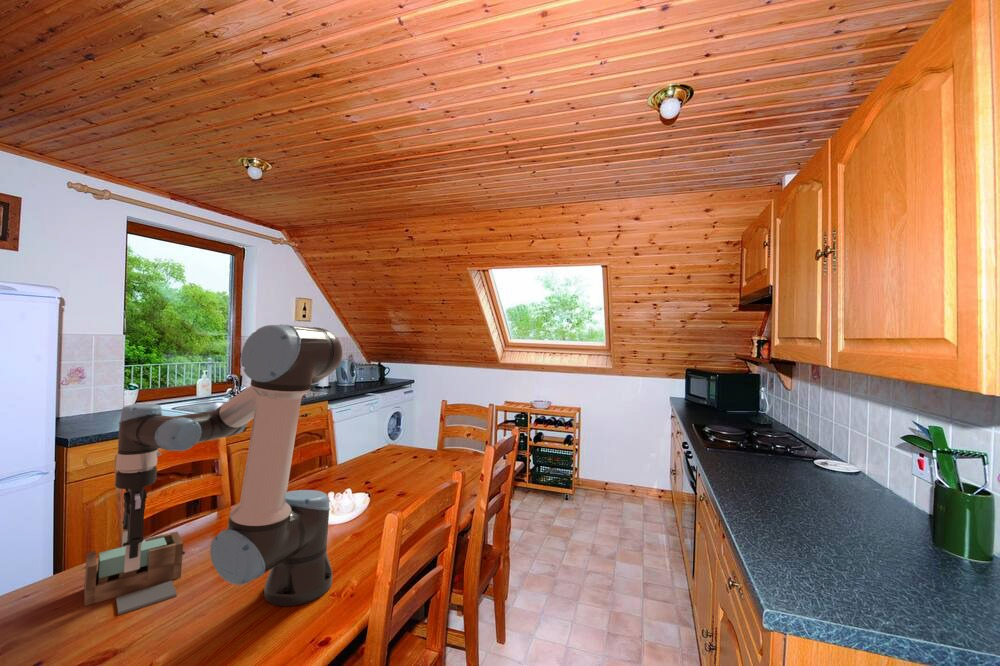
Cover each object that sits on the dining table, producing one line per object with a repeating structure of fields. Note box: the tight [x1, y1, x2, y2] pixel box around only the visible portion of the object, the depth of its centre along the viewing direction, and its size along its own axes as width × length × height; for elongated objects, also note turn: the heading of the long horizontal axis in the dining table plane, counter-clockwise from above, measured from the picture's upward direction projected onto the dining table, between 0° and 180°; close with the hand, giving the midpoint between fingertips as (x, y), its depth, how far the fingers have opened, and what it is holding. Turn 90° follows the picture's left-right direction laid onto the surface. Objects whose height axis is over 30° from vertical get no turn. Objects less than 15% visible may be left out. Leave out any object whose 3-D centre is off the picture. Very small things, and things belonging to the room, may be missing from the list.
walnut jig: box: [83, 531, 184, 607], centre depth 99 cm, size 17×8×8 cm, turn 136°
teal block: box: [97, 537, 167, 579], centre depth 99 cm, size 12×5×4 cm, turn 136°
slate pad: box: [115, 580, 178, 616], centre depth 94 cm, size 7×10×1 cm
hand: (130, 562), depth 99 cm, fingers open, 8 cm apart
